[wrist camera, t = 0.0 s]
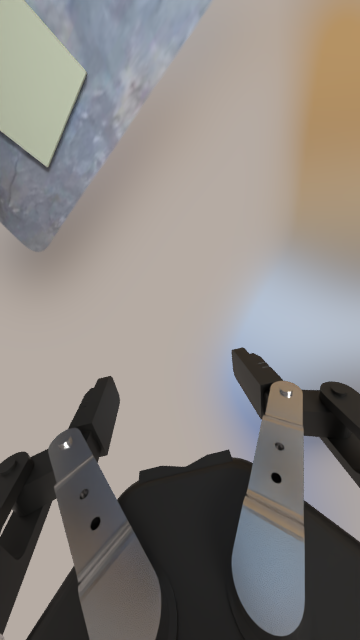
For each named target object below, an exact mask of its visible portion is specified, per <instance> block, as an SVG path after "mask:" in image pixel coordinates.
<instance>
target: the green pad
mask: <svg viewBox="0 0 360 640" xmlns="http://www.w3.org/2000/svg"><path fill="white" fill-rule="evenodd" d="M86 75H87V72H86V71H85V70H84V69H83V67H82V66H81V65H80V64H79V63H78V62H77V61H76V59H75V58H74V57H73V56H72V55H71V54H70V53H69V51H68V50H67V49H66V48H65V47H64V46H63V44H62V43H61V42H60V41H59V40H58V39H57V38H56V36H55V35H54V34H53V33H52V32H51V31H50V30H49V28H48V27H47V26H46V25H45V24H44V23H43V21H42V20H41V19H40V18H39V17H38V16H37V15H36V13H35V12H34V11H33V10H32V9H31V8H30V7H29V5H28V4H27V3H26V2H25V1H24V0H0V131H1V132H3V133H4V134H5V135H6V136H8V137H9V138H10V139H12V140H13V141H14V142H15V143H17V144H18V145H19V146H20V147H22V148H23V149H24V150H26V151H27V152H28V153H29V154H31V155H32V156H33V157H35V158H36V159H37V160H38V161H40V162H41V163H42V164H43V165H45V166H46V167H49V165H50V163H51V160H52V158H53V155H54V153H55V150H56V148H57V146H58V143H59V141H60V138H61V136H62V133H63V131H64V129H65V126H66V124H67V121H68V119H69V116H70V114H71V112H72V109H73V107H74V104H75V102H76V99H77V97H78V95H79V92H80V90H81V87H82V85H83V83H84V80H85V78H86Z"/></svg>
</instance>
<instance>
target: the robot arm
mask: <svg viewBox="0 0 360 640" xmlns="http://www.w3.org/2000/svg"><path fill="white" fill-rule="evenodd" d="M232 362H233V371H234V375H235V377H236V379H237V381H238V383H239V384H240V386H241V387H242V389H243V391H244V392H245V394H246V395H247V397H248V399H249V400H250V402H251V404H252V405H253V407H254V409H255V410H256V412H257V414H258V415H259V417H260V418H261V419H262V422H261V427H260V432H259V437H258V442H257V446H256V451H255V456H254V461H253V463H251V462H249V461H247V460H244V459H240V458H233V457H231V454H230V451H229V450H225V451H222V452H218V453H213V454H209V455H206V456H205V457H203V458H201V459H199V460H198V461H196V462H194V463H192V464H190V465H188V466H186V467H175V466H159V467H155V468H151V469H147V470H143V471H140V473H139V481H137V482H135V483H134V484H132V485H131V486H130V487H129V488H128V489H126V490H125V492H123V493H122V495H121V496H120V497H119V498H118V499H116V497H115V495H114V494H113V492H112V490H111V488H110V486H109V484H108V482H107V480H106V479H105V477H104V475H103V473H102V471H101V470H100V467H99V465H98V459H99V457H101V456H106V455H107V454H108V450H109V446H110V442H111V438H112V433H113V429H114V425H115V421H116V417H117V413H118V409H119V404H120V398H119V394H118V391H117V388H116V386H115V383H114V381H113V378H112V377H111V376H108V377H104V378H100V379H98V380H97V383H96V385H95V387H94V388H91V389H90V390H89V391H88V392H87V393H86V394H85V396H84V398H83V400H82V403H81V404H80V406H79V409H78V410H77V412H76V414H75V416H74V418H73V420H72V422H71V424H70V426H69V428H68V430H66V431H64V432H62V433H61V434H59V435H58V436H57V437H56V438H55V439H54V440H53V441H52V443H51V444H50V446H49V449H47V450H45V451H43V452H41V453H39V454H36V455H35V456H32V457H30V456H29V455H28V453H26V452H19V453H16V454H14V455H12V456H10V457H8V458H7V459H6V460H4V461H3V462H2V463H1V464H0V532H1V529H2V527H3V525H4V523H5V521H6V519H7V517H8V515H9V514H10V512H11V510H13V513H12V515H11V517H10V519H9V521H8V523H7V525H6V527H5V529H4V531H3V533H2V535H1V537H0V640H4V637H3V636H2V635H3V632H4V630H5V627H6V624H7V622H8V619H9V616H10V614H11V611H12V608H13V605H14V603H15V600H16V597H17V595H18V592H19V589H20V586H21V584H22V581H23V579H24V575H25V573H26V570H27V568H28V565H29V562H30V560H31V557H32V554H33V552H34V549H35V546H36V543H37V541H38V538H39V535H40V533H41V530H42V527H43V524H44V522H45V519H46V517H47V514H48V511H49V508H50V506H51V503H52V501H53V500H54V499H56V498H57V501H58V505H59V509H60V513H61V516H62V520H63V524H64V528H65V532H66V535H67V539H68V543H69V547H70V551H71V555H72V558H73V562H74V567H73V568H72V570H71V571H70V573H69V574H68V576H67V577H66V579H65V581H64V582H63V583H62V585H61V587H60V588H59V590H58V591H57V593H56V594H55V596H54V597H53V599H52V600H51V602H50V603H49V605H48V607H47V608H46V610H45V611H44V613H43V614H42V616H41V617H40V619H39V620H38V622H37V624H36V625H35V627H34V628H33V630H32V631H31V633H30V634H29V636H28V638H27V639H26V640H360V542H359V541H358V540H356V539H355V538H354V537H352V536H351V535H350V534H348V533H347V532H346V531H344V530H343V529H342V528H340V527H339V526H338V525H336V524H335V523H334V522H332V521H331V520H330V519H328V518H327V517H326V516H324V515H323V514H322V513H320V512H319V511H317V510H316V509H315V508H314V507H312V506H311V505H310V504H308V503H307V502H306V501H304V448H303V447H304V445H303V444H304V442H303V441H304V439H303V436H315V437H320V438H321V440H322V441H323V442H324V443H325V445H326V446H327V447H328V448H329V450H330V451H331V452H332V453H333V455H334V456H335V457H336V459H337V460H338V461H339V462H340V464H341V465H342V466H343V467H344V469H345V470H346V471H347V472H348V474H349V475H350V476H351V478H352V479H353V480H354V481H355V483H356V484H357V485H358V486H359V488H360V394H359V393H358V392H357V391H355V390H354V389H352V388H351V387H349V386H347V385H345V384H342V383H339V382H325V383H323V384H322V385H321V387H320V390H301V389H300V388H299V387H298V386H297V385H295V384H294V383H291V382H288V381H283V380H282V379H281V377H280V376H279V375H278V374H277V373H276V372H275V371H274V370H273V369H272V368H271V367H269V365H268V364H267V363H265V361H264V360H263V359H262V358H261V357H260V356H258V355H256V354H254V353H252V354H249V353H248V352H247V351H246V350H245V348H239V349H234V350H232Z"/></svg>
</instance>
